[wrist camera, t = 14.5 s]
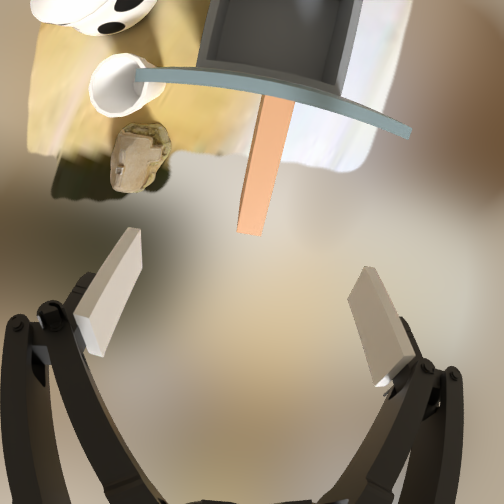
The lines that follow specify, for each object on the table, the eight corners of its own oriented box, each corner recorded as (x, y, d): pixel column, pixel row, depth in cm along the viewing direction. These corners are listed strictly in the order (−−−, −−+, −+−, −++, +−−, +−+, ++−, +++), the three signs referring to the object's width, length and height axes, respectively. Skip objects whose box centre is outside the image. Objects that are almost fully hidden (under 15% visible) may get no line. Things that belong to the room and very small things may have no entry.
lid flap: (136, 68, 14) (131, 215, 21) (412, 128, 16) (359, 254, 24) (195, 67, 30) (184, 146, 37) (340, 96, 32) (318, 171, 39)
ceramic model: (123, 114, 42) (97, 123, 34) (177, 128, 44) (160, 139, 36) (109, 180, 49) (85, 200, 41) (158, 195, 52) (141, 219, 43)
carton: (230, -26, 27) (225, -48, 19) (345, -1, 29) (365, -16, 21) (207, 70, 38) (195, 66, 30) (323, 93, 40) (340, 96, 32)
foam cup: (184, 87, 40) (161, 88, 29) (144, 117, 43) (111, 130, 32) (156, 48, 35) (125, 40, 25) (117, 80, 38) (78, 84, 27)
